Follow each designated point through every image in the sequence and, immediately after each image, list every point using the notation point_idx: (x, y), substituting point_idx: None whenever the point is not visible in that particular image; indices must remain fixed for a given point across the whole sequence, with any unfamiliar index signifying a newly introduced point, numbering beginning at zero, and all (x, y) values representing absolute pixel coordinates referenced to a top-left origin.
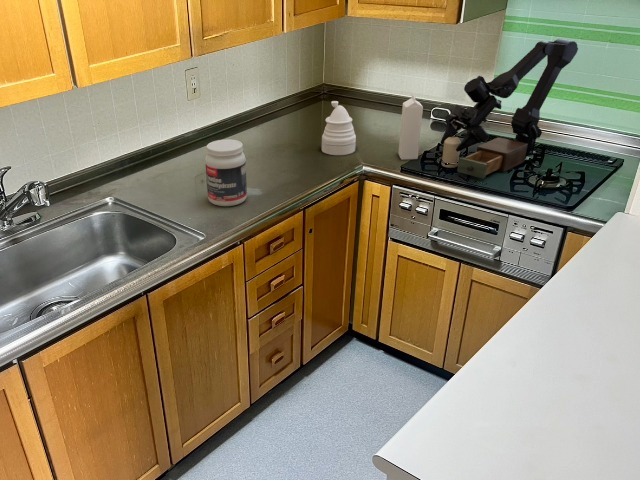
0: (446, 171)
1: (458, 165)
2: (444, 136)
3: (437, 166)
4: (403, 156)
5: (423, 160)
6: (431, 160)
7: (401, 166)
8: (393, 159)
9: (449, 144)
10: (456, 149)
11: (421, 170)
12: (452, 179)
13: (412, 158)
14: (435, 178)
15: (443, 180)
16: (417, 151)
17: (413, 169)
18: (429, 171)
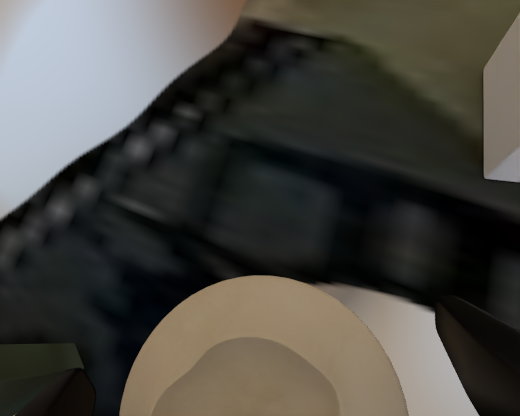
0: (165, 291)
1: (33, 346)
2: (508, 359)
3: (285, 268)
4: (492, 64)
5: (446, 213)
6: (437, 275)
7: (344, 44)
8: (496, 28)
9: (173, 314)
10: (61, 373)
11: (239, 135)
12: (18, 268)
13: (485, 137)
14: (80, 172)
15: (30, 206)
16: (516, 140)
17: (271, 95)
18: (205, 177)
